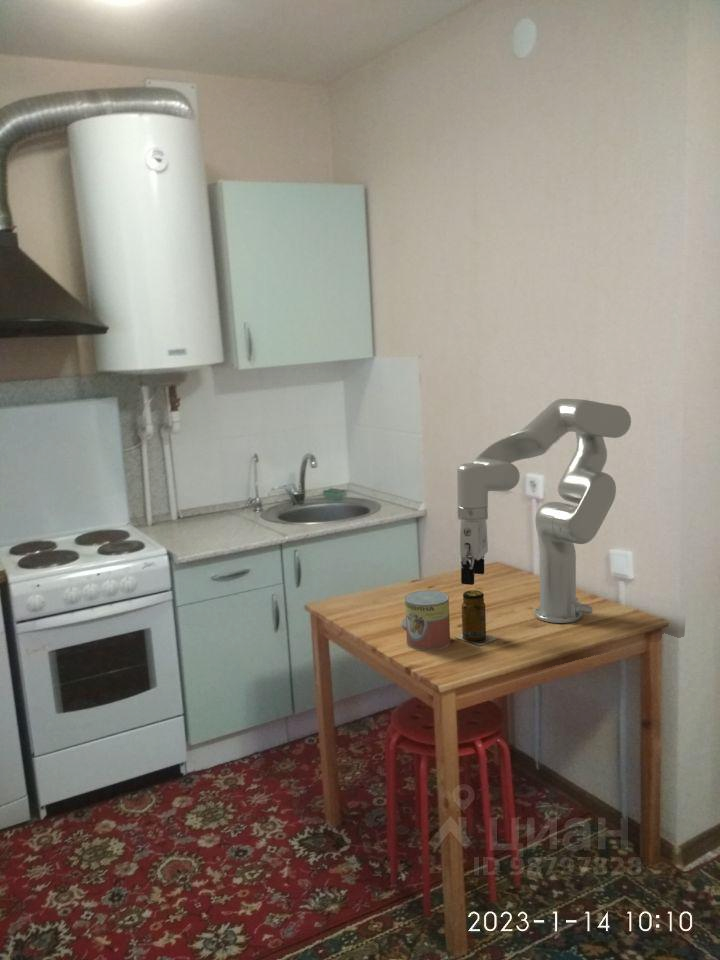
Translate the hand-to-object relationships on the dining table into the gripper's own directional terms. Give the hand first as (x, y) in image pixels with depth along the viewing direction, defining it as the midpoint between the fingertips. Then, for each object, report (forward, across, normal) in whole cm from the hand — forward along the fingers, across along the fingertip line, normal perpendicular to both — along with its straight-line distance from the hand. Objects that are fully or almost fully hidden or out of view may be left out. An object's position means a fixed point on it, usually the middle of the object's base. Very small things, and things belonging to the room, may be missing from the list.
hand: (473, 578), depth 201 cm
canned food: (+17, -5, +10) cm, 20 cm away
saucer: (+16, +6, +16) cm, 24 cm away
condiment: (+16, +1, -1) cm, 16 cm away
